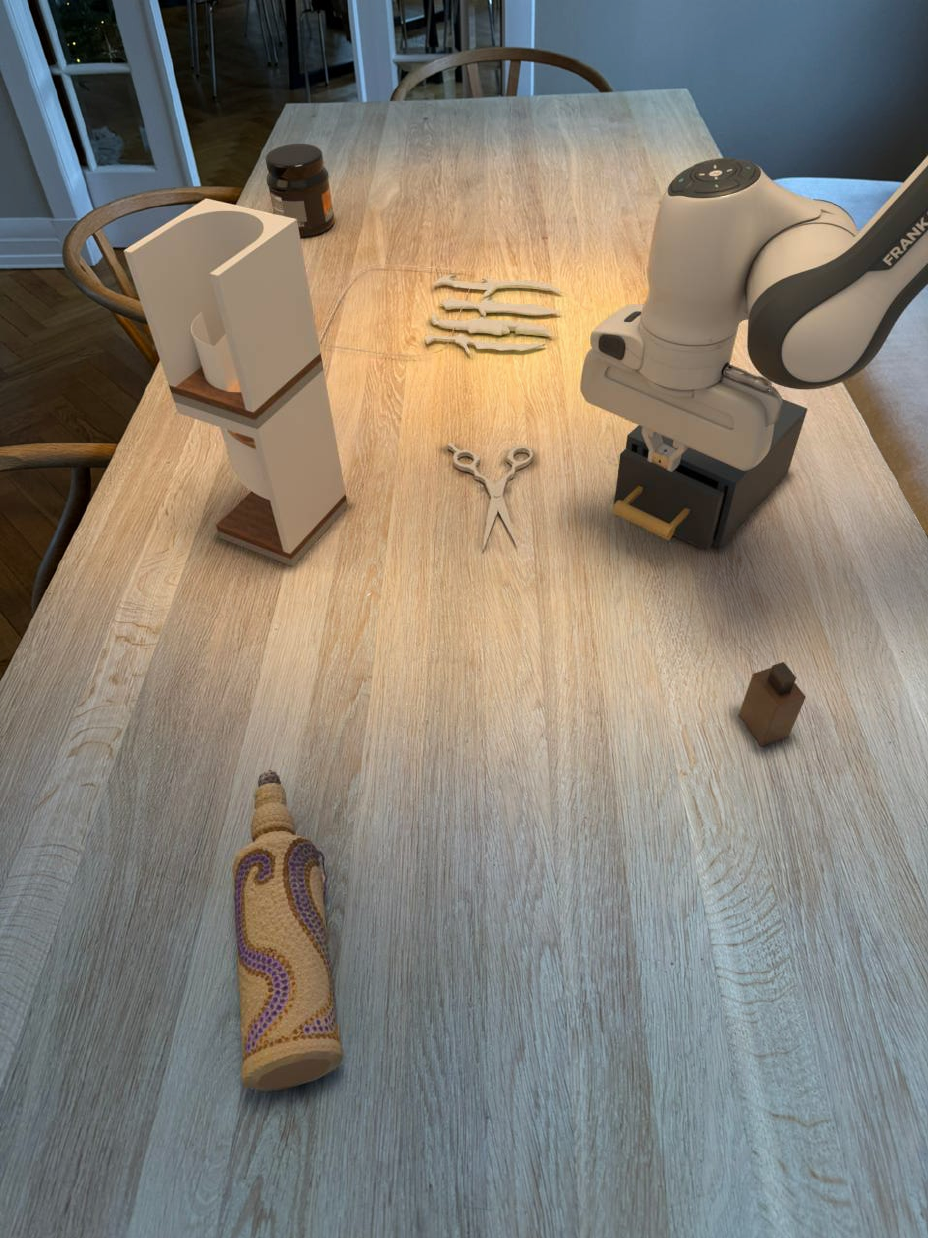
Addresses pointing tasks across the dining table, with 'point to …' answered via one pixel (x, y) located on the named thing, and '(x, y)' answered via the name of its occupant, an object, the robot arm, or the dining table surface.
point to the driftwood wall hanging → (484, 314)
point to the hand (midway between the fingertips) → (663, 464)
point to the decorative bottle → (283, 951)
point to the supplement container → (300, 187)
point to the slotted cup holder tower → (247, 365)
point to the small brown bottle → (772, 704)
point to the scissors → (493, 489)
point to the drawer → (668, 499)
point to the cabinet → (742, 485)
